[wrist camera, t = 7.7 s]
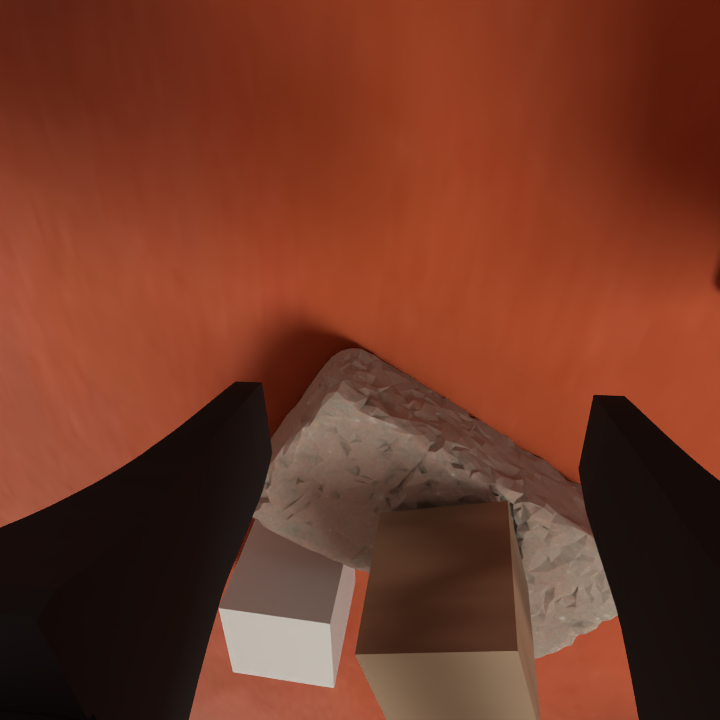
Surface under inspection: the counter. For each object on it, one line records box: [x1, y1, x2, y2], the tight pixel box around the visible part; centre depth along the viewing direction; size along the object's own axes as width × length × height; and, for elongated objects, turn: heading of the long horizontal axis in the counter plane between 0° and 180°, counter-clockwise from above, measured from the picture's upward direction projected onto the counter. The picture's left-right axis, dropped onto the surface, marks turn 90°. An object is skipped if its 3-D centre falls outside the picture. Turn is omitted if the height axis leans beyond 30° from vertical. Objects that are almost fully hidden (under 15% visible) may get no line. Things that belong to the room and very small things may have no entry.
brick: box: [253, 348, 618, 659], centre depth 26 cm, size 17×8×5 cm, turn 58°
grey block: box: [219, 519, 355, 688], centre depth 29 cm, size 5×5×6 cm
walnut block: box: [355, 501, 540, 720], centre depth 21 cm, size 5×5×6 cm
